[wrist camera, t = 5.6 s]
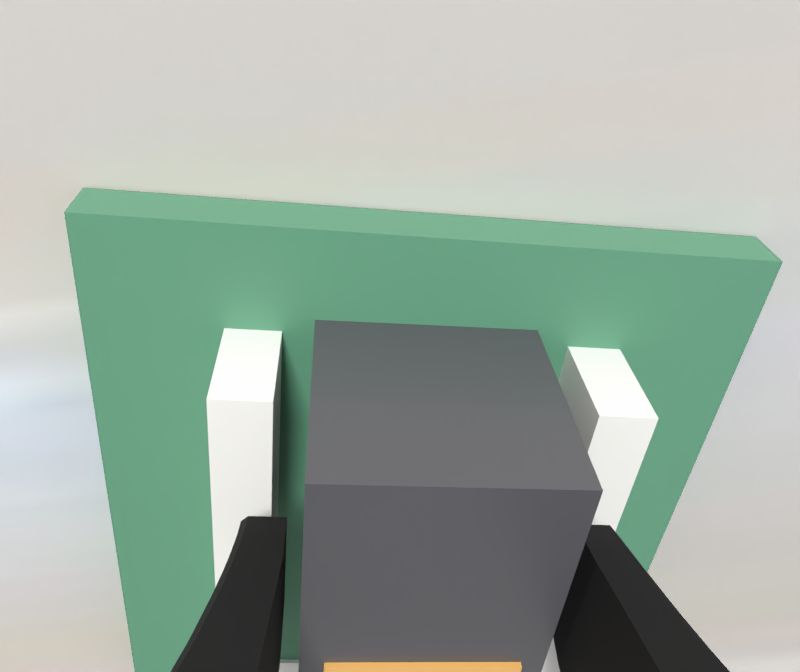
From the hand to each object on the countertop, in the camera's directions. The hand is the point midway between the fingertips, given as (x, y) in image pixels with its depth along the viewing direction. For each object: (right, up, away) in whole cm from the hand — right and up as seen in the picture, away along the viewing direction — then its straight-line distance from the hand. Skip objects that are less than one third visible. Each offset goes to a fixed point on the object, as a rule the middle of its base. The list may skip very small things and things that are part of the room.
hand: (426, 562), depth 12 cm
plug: (0, +2, +2) cm, 3 cm away
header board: (0, 0, +5) cm, 5 cm away
